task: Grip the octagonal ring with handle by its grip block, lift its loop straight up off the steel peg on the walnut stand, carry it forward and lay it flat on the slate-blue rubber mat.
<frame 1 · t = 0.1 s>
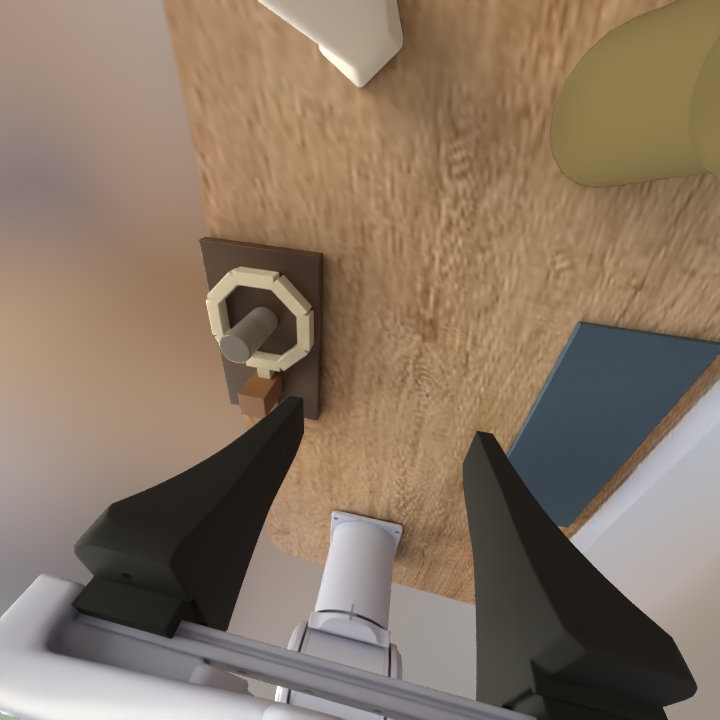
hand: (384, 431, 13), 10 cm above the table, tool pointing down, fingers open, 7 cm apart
perfume bottle: (365, 30, 14), on the table
mat: (571, 444, 24), on the table
pepper shaker: (624, 110, 14), on the table
peg stand: (269, 315, 23), on the table
octagonal ring with handle: (264, 319, 22), point 1 cm above the table, touching peg stand
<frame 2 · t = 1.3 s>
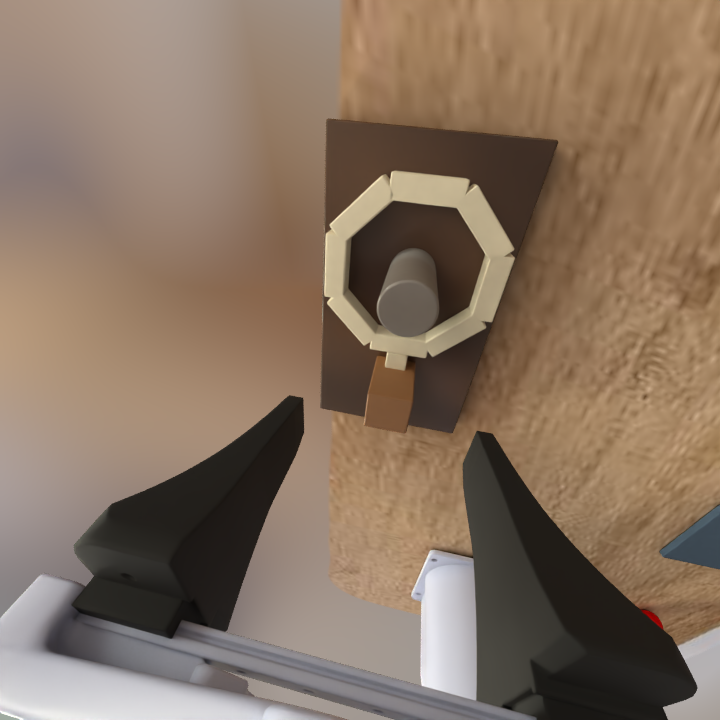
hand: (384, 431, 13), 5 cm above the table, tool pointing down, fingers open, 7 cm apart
peg stand: (412, 266, 14), on the table
candy: (635, 609, 26), on the table
octagonal ring with handle: (412, 271, 13), point 1 cm above the table, touching peg stand
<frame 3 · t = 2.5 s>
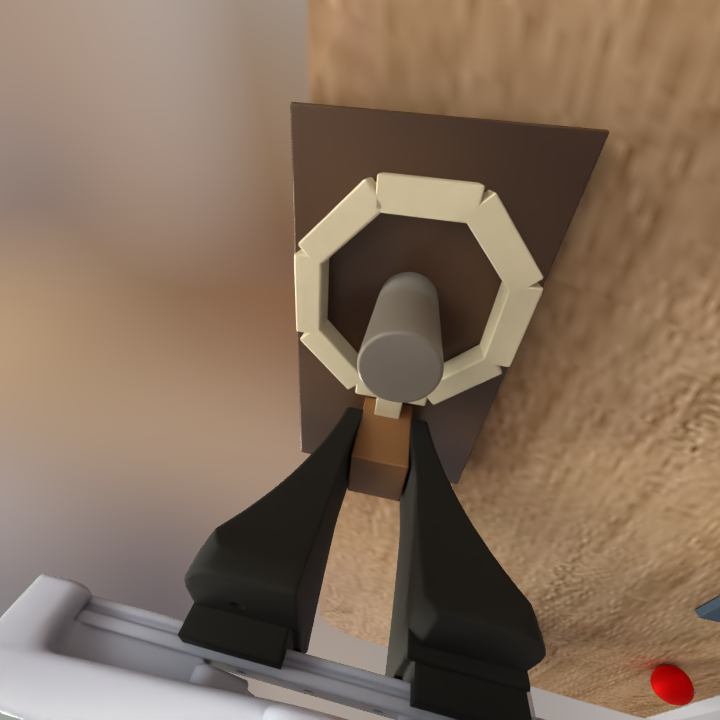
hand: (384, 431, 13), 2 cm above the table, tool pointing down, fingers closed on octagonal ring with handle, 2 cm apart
peg stand: (408, 292, 11), on the table
candy: (660, 662, 23), on the table
octagonal ring with handle: (407, 300, 11), point 1 cm above the table, touching gripper, peg stand
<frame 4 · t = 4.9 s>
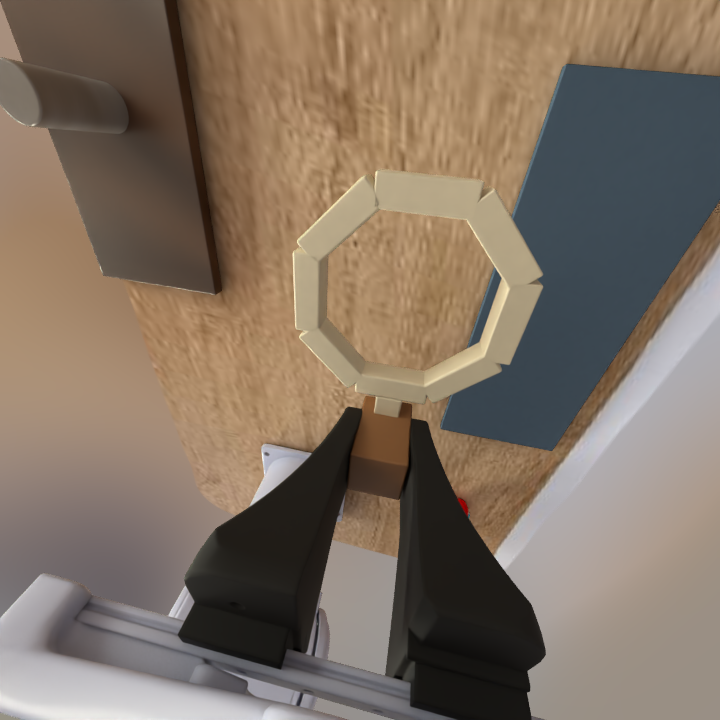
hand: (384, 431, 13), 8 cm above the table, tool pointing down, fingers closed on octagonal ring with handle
mat: (554, 313, 17), on the table
peg stand: (122, 110, 16), on the table
candy: (454, 501, 28), on the table
octagonal ring with handle: (406, 298, 10), point 8 cm above the table, touching gripper
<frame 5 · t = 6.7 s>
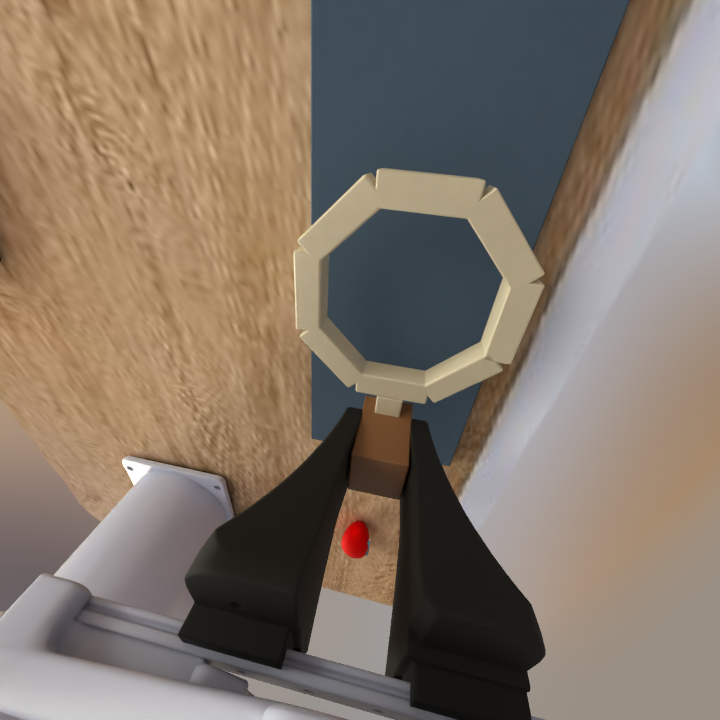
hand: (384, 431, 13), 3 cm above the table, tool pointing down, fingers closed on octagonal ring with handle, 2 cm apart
mat: (410, 279, 12), on the table
candy: (358, 523, 23), on the table
octagonal ring with handle: (407, 298, 10), point 2 cm above the table, touching gripper
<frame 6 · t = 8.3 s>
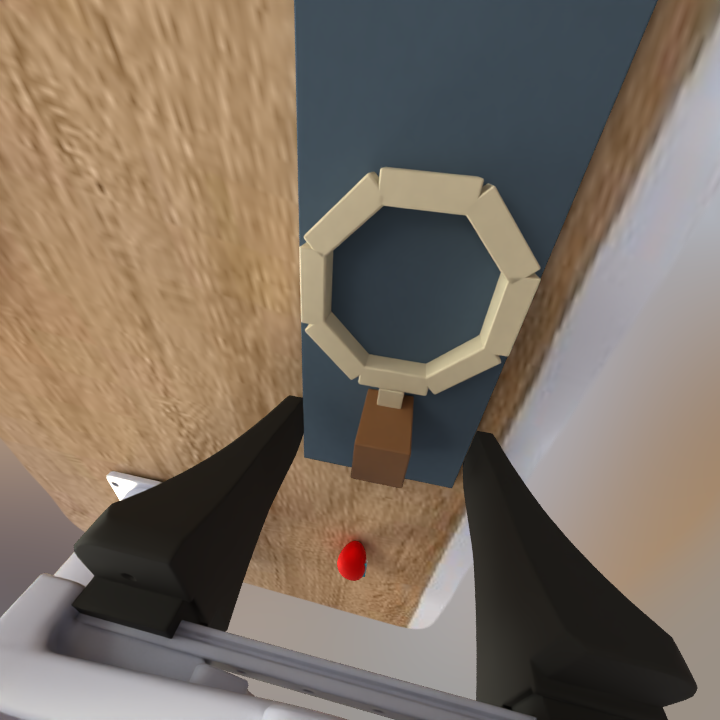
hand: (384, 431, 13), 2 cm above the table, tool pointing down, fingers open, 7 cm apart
mat: (409, 291, 11), on the table
candy: (355, 543, 22), on the table
octagonal ring with handle: (409, 292, 11), resting on mat
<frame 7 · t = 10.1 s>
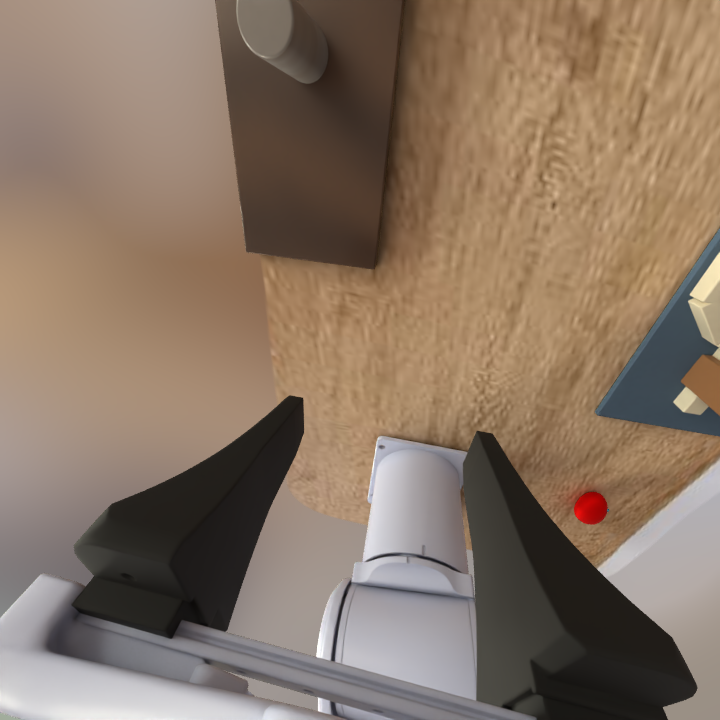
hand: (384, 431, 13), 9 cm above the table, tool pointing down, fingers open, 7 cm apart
peg stand: (311, 58, 14), on the table
candy: (584, 495, 26), on the table
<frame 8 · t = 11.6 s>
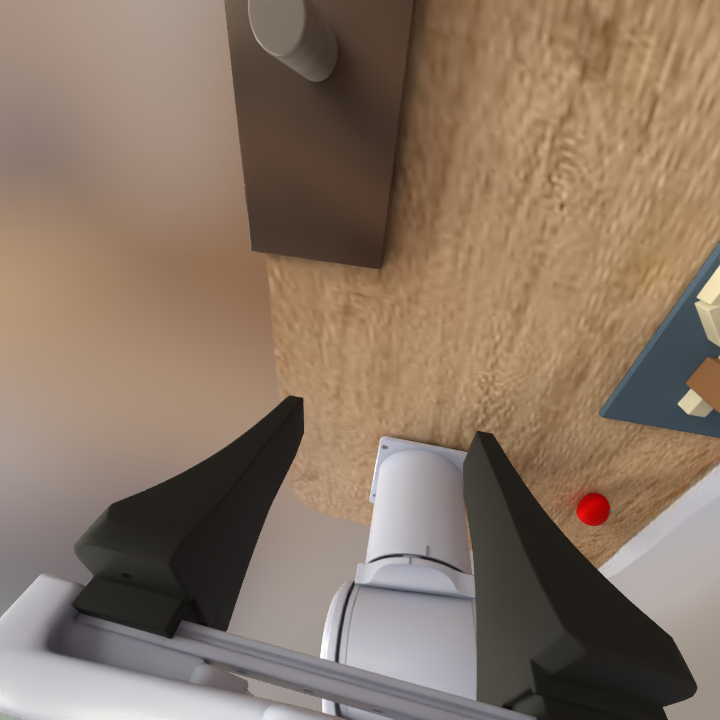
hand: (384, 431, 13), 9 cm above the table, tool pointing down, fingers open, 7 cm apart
peg stand: (320, 56, 14), on the table
candy: (586, 496, 26), on the table
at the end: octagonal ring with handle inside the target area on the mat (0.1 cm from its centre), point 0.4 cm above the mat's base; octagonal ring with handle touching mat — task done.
